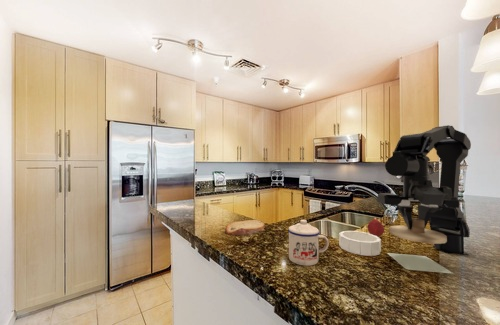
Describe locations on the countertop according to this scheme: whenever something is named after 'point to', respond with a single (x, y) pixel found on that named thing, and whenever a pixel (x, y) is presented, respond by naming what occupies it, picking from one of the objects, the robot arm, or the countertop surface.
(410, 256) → the mat
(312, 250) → the teacup with lid
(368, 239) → the bowl
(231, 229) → the bread slice
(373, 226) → the onion
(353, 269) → the countertop surface
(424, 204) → the robot arm
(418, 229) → the lid
